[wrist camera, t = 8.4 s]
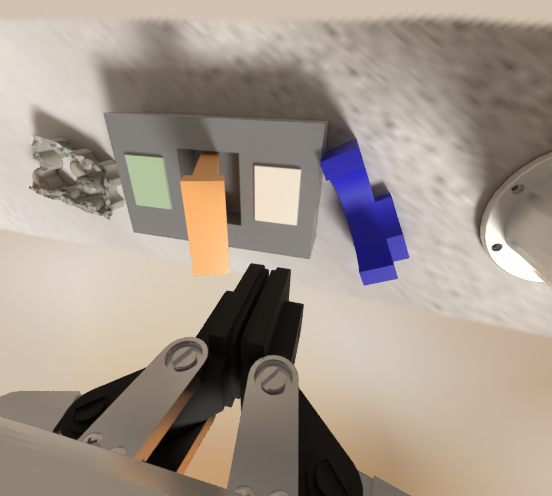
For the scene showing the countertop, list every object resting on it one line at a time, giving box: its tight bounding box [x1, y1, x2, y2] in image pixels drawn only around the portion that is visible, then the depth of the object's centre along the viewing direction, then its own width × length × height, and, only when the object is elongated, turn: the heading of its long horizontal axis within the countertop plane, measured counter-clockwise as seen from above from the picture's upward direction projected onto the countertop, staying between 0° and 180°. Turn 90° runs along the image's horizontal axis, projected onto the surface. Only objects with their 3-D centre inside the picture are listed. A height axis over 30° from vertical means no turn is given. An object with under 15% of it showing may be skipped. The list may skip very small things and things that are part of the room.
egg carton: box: [29, 135, 124, 219], centre depth 32 cm, size 11×8×4 cm
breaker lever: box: [180, 151, 230, 276], centre depth 21 cm, size 2×6×12 cm, turn 178°
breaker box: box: [103, 112, 329, 259], centre depth 26 cm, size 20×12×5 cm, turn 89°
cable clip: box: [320, 139, 409, 285], centre depth 24 cm, size 12×4×6 cm, turn 25°
